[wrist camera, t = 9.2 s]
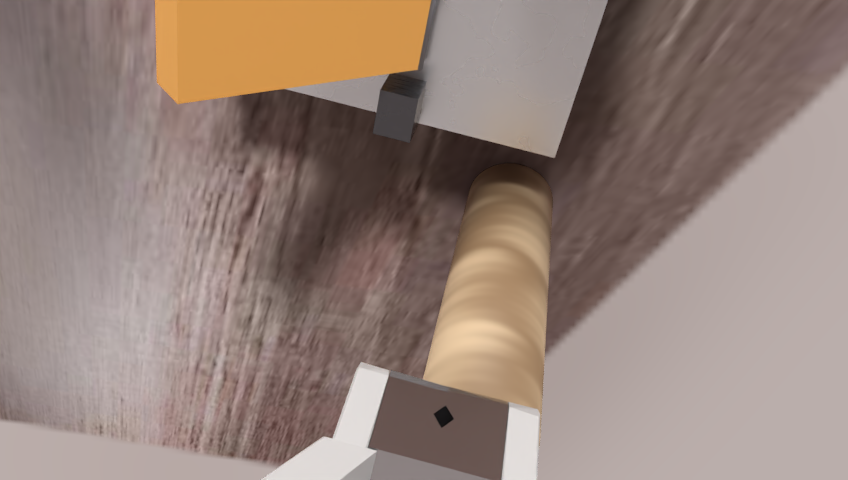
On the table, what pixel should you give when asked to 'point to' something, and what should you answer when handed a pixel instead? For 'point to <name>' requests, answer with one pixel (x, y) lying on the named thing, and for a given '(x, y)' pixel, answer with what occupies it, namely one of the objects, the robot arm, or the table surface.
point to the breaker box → (485, 73)
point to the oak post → (497, 291)
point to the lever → (284, 43)
